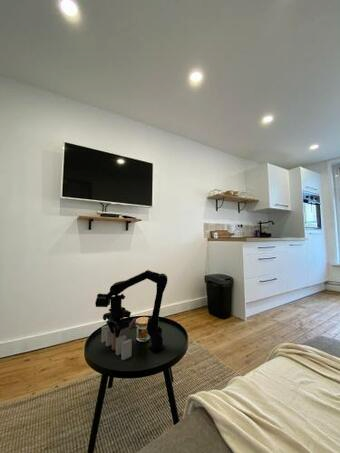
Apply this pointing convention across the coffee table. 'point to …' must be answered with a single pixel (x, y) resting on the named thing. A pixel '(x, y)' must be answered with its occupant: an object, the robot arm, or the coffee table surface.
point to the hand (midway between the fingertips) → (115, 336)
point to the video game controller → (133, 323)
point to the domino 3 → (114, 340)
